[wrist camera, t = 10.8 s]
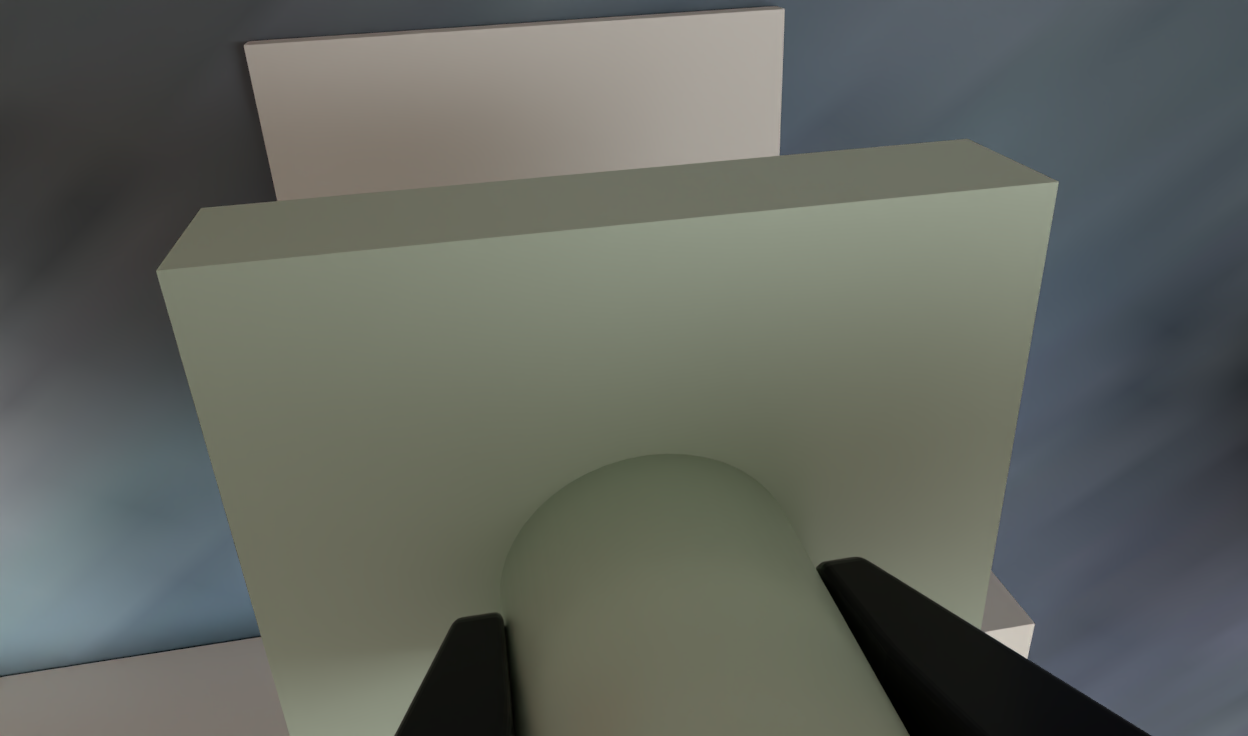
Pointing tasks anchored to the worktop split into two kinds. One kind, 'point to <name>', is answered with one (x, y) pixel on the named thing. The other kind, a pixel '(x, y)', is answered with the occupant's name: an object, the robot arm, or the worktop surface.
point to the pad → (517, 100)
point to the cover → (614, 426)
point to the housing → (237, 688)
